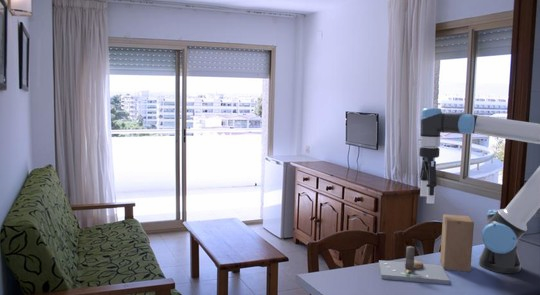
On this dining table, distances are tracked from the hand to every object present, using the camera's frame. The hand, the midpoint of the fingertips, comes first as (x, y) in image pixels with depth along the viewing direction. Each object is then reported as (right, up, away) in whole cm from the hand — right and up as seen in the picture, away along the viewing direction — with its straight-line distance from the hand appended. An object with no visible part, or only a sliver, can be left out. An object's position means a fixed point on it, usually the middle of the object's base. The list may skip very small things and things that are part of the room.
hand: (427, 199), depth 191 cm
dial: (-9, -25, -9) cm, 28 cm away
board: (-9, -27, -9) cm, 30 cm away
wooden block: (+11, -27, 0) cm, 29 cm away
